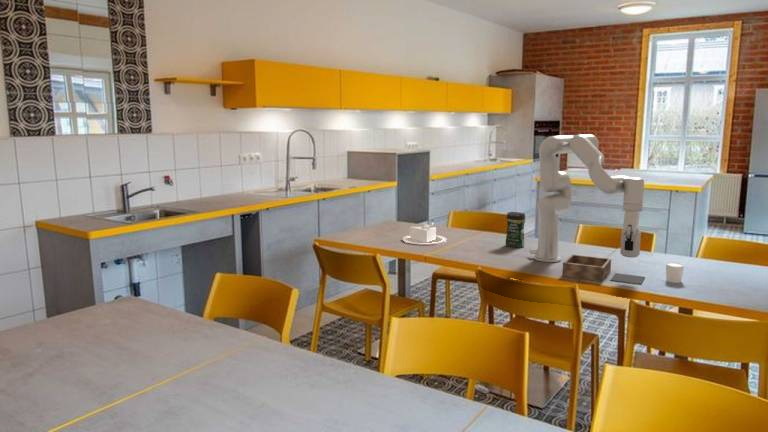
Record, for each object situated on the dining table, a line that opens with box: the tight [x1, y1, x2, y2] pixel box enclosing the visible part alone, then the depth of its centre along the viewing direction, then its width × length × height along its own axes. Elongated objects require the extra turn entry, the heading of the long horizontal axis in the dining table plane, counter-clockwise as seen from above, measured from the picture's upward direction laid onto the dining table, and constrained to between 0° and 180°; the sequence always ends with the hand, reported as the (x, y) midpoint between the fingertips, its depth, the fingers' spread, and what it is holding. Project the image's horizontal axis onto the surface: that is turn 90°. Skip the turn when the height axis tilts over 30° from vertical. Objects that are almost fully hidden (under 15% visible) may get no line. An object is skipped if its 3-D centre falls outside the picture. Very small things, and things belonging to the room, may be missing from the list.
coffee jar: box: [505, 211, 526, 248], centre depth 305 cm, size 10×8×19 cm
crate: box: [561, 254, 612, 282], centre depth 252 cm, size 17×17×6 cm
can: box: [619, 227, 642, 259], centre depth 241 cm, size 8×8×12 cm
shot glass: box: [665, 262, 685, 284], centre depth 240 cm, size 7×7×7 cm
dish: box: [401, 222, 447, 245], centre depth 321 cm, size 25×25×11 cm
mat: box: [610, 272, 646, 286], centre depth 244 cm, size 12×12×1 cm
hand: (630, 248), depth 241 cm, fingers closed on can, 7 cm apart
